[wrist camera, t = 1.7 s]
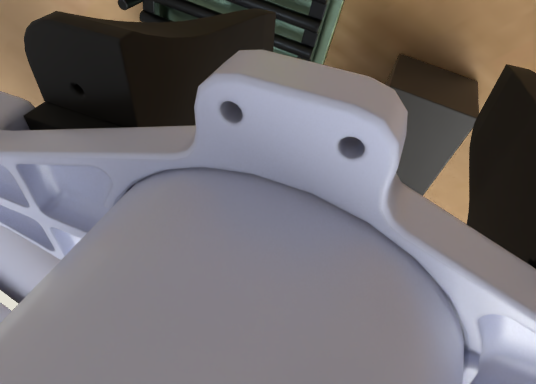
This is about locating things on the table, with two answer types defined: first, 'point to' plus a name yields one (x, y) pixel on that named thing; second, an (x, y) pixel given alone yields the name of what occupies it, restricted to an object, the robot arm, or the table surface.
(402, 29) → the table surface
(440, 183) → the table surface
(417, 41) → the table surface
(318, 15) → the rack
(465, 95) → the black box
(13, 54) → the table surface
